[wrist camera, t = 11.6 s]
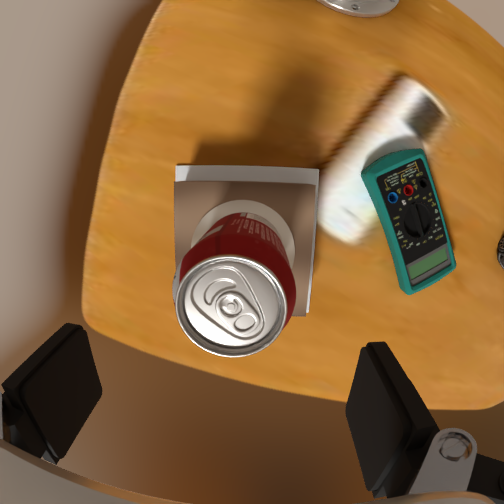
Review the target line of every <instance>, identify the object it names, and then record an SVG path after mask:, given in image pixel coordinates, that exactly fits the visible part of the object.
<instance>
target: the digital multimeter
mask: <svg viewBox="0 0 504 504" xmlns="http://www.w3.org/2000/svg"><path fill="white" fill-rule="evenodd" d="M361 177H362V180H363V182H364V184H365V186H366V188H367V190H368V193H369V195H370V197H371V199H372V201H373V204H374V206H375V209H376V211H377V214H378V216H379V219H380V221H381V224H382V226H383V229H384V232H385V235H386V238H387V241H388V244H389V248H390V251H391V254H392V257H393V261H394V265H395V269H396V273H397V277H398V281H399V286H400V288H401V290H403V291H404V292H405V293H406V294H407V295H411V294H414V293H416V292H418V291H420V290H422V289H424V288H426V287H428V286H430V285H432V284H434V283H436V282H437V281H439V280H440V279H442V278H443V277H445V276H446V275H447V274H449V273H450V272H452V271H453V270H454V269H455V268H456V261H455V257H454V253H453V250H452V246H451V242H450V239H449V235H448V232H447V228H446V224H445V221H444V217H443V214H442V210H441V207H440V203H439V200H438V196H437V193H436V189H435V186H434V182H433V179H432V176H431V172H430V169H429V166H428V162H427V159H426V156H425V153H424V151H423V150H422V149H411V150H403V151H398V152H393V153H390V154H387V155H385V156H383V157H381V158H379V159H378V160H376V161H375V162H373V163H372V164H371V165H369V166H368V167H367V168H366V169H364V170H363V171H362V172H361ZM377 183H378V184H377ZM382 196H383V197H382ZM385 204H386V205H385ZM390 218H391V219H390ZM391 221H392V222H391ZM431 227H432V228H431ZM429 231H430V232H429ZM397 239H398V240H397ZM398 242H399V243H398ZM402 255H403V256H402Z"/></svg>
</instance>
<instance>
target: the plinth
mask: <svg viewBox="0 0 504 504" xmlns="http://www.w3.org/2000/svg"><path fill="white" fill-rule="evenodd" d="M315 191H316V185H313V184H305V183H285V182H260V181H176V182H174V228H175V261H176V270H177V267H178V265H179V263H180V262H181V260H182V259H183V257H184V256H185V255H186V254H187V252H188V251H189V250H190V249H191V248H192V247H193V246H194V245H195V244H196V243H197V242H198V241H199V240H200V238H201V237H202V236H203V235H204V234H205V233H206V232H207V231H208V230H209V229H210V228H211V227H212V226H213V225H214V224H215V223H216V222H217V221H218V220H220V219H221V218H223V217H225V216H227V215H229V214H233V213H238V212H247V213H253V214H256V215H259V216H261V217H263V218H265V219H266V220H268V221H269V222H270V223H271V224H272V225H273V226H274V227H275V228H276V230H277V231H278V233H279V234H280V237H281V239H282V242H283V245H284V248H285V251H286V254H287V257H288V260H289V264H290V267H291V270H292V273H293V276H294V280H295V284H296V303H295V307H294V311H293V313H292V316H306V309H307V299H308V289H309V278H310V267H311V255H312V241H313V227H314V210H315Z"/></svg>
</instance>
